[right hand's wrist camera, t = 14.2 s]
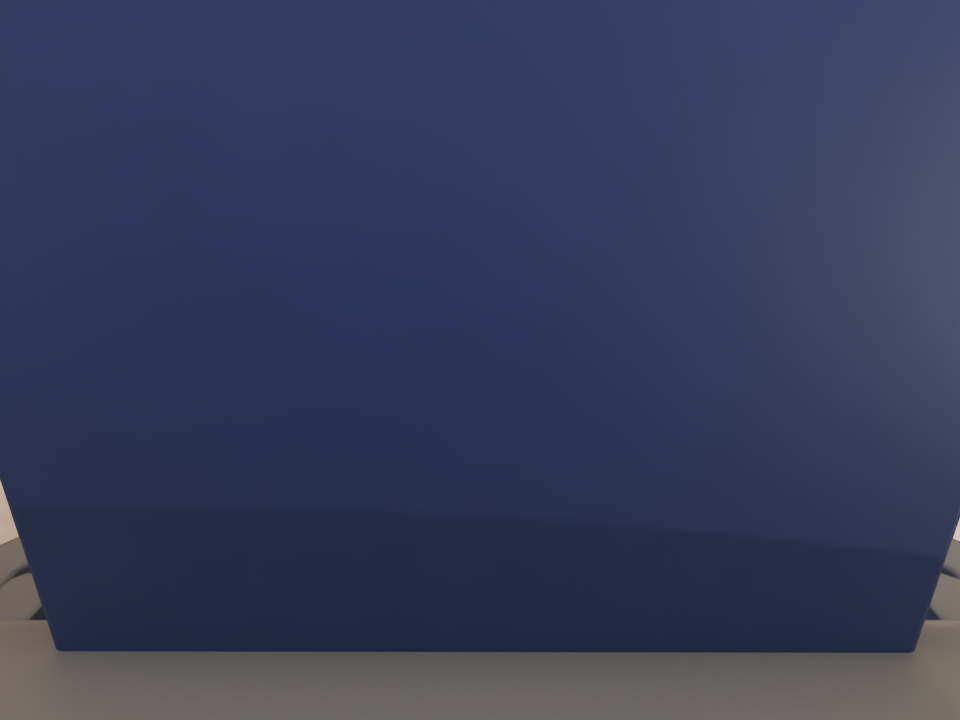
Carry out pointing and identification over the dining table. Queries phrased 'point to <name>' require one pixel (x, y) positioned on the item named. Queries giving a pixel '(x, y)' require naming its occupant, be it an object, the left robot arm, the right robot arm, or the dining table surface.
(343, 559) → the box
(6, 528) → the dining table surface
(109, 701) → the right robot arm
